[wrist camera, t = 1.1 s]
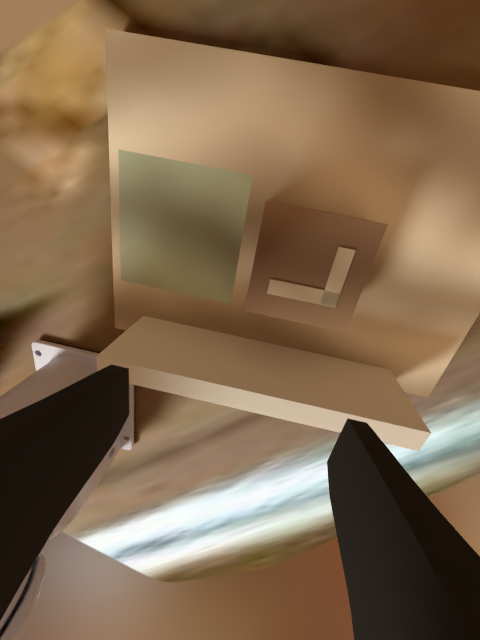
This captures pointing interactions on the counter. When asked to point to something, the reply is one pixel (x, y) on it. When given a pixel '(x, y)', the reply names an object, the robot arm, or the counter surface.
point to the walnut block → (311, 265)
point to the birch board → (292, 194)
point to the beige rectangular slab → (265, 379)
